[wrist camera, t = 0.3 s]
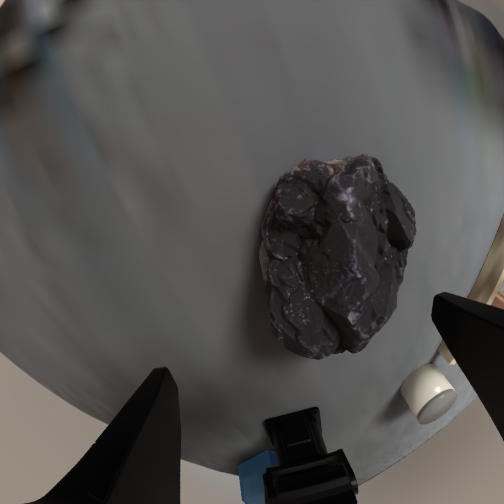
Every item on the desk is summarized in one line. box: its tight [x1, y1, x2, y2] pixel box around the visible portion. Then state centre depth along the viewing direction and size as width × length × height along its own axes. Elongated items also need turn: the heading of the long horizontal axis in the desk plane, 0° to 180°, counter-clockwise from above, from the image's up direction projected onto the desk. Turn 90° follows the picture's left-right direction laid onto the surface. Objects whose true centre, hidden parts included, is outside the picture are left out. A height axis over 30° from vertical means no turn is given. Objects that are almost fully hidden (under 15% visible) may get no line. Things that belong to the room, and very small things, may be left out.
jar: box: [400, 364, 457, 424], centre depth 30 cm, size 6×6×6 cm
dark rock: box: [259, 154, 416, 360], centre depth 19 cm, size 13×14×10 cm
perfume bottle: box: [238, 449, 279, 504], centre depth 30 cm, size 6×6×12 cm
